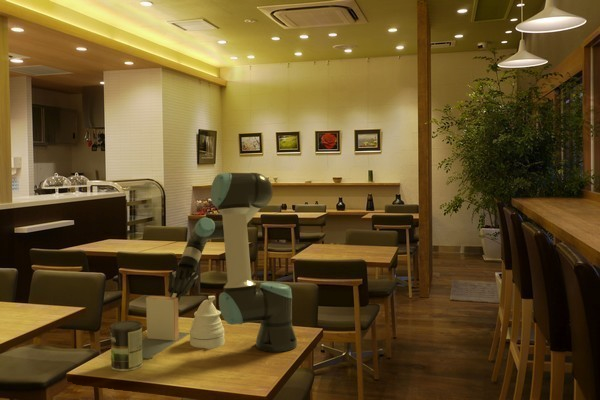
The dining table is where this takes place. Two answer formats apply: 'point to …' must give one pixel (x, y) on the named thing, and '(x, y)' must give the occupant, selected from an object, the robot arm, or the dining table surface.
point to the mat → (157, 345)
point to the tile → (162, 318)
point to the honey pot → (207, 326)
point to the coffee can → (126, 345)
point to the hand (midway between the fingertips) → (170, 309)
